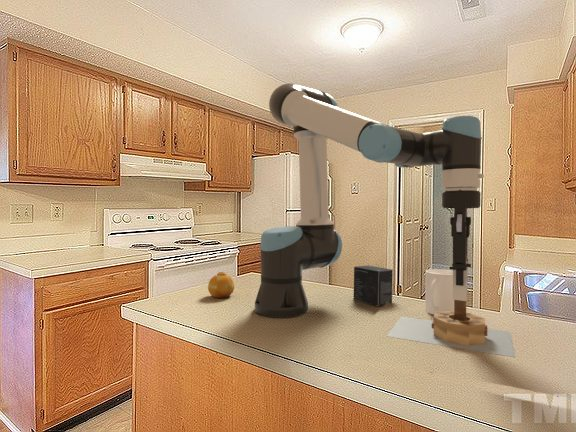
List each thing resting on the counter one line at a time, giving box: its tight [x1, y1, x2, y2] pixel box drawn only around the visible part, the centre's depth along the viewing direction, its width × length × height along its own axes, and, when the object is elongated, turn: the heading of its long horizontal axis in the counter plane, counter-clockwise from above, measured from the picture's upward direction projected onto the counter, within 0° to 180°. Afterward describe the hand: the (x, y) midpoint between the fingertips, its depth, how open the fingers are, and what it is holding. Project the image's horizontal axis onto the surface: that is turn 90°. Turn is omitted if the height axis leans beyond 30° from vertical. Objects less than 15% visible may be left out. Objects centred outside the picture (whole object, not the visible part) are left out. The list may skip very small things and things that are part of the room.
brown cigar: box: [454, 254, 468, 321], centre depth 81 cm, size 2×2×16 cm
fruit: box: [207, 271, 235, 299], centre depth 121 cm, size 8×8×8 cm
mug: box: [424, 268, 454, 316], centre depth 98 cm, size 12×8×12 cm
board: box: [386, 316, 516, 358], centre depth 83 cm, size 24×16×1 cm, turn 62°
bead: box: [432, 311, 488, 345], centre depth 81 cm, size 11×10×4 cm
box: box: [352, 264, 393, 307], centre depth 115 cm, size 11×7×10 cm, turn 34°
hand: (460, 298), depth 81 cm, fingers closed on brown cigar, 2 cm apart
